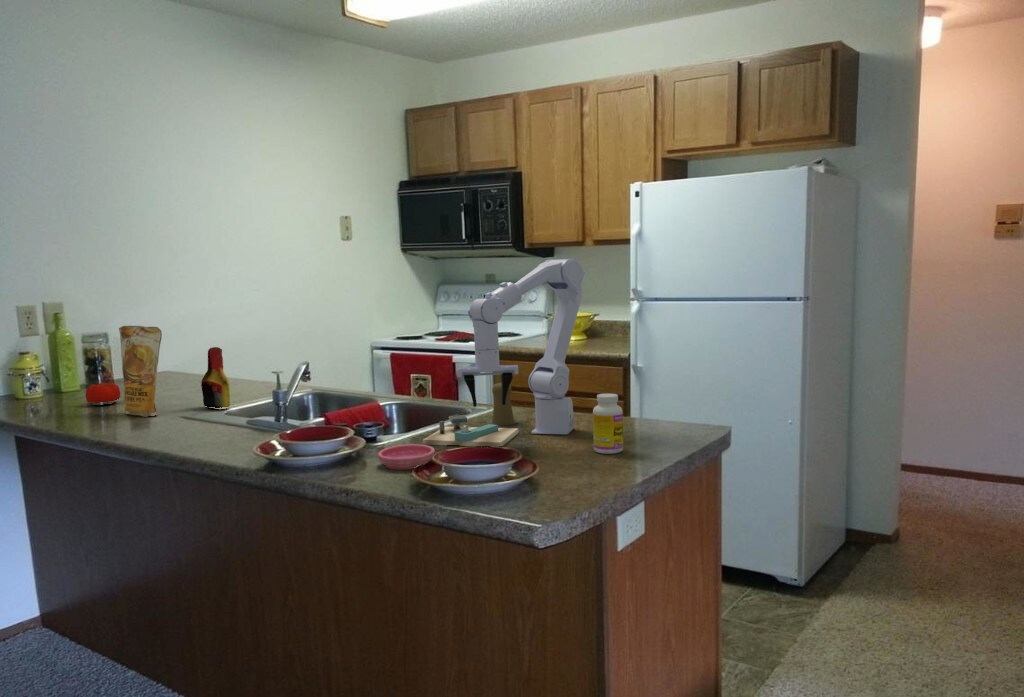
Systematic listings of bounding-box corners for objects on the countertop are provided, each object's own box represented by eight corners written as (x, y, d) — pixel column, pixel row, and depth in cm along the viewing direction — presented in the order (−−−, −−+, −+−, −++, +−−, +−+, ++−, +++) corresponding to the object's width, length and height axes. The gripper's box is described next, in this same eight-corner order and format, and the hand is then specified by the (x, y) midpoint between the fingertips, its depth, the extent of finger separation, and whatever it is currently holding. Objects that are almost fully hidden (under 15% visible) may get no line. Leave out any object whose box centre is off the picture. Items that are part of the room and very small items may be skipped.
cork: (511, 425, 203) (510, 384, 202) (489, 425, 204) (488, 385, 203) (516, 420, 209) (514, 381, 208) (494, 420, 210) (493, 381, 209)
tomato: (98, 408, 255) (95, 386, 254) (80, 406, 261) (78, 384, 260) (128, 403, 264) (126, 381, 263) (111, 400, 270) (109, 380, 269)
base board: (518, 433, 194) (518, 428, 194) (501, 447, 180) (500, 442, 180) (445, 430, 200) (445, 426, 200) (422, 444, 185) (422, 439, 185)
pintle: (469, 438, 185) (469, 425, 184) (467, 439, 183) (467, 426, 183) (464, 438, 185) (463, 425, 185) (462, 439, 184) (461, 426, 183)
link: (466, 441, 181) (466, 434, 181) (454, 439, 184) (454, 432, 184) (499, 430, 192) (499, 423, 192) (487, 429, 194) (487, 422, 194)
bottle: (237, 408, 244) (232, 346, 242) (219, 412, 239) (213, 349, 237) (217, 405, 252) (212, 345, 249) (199, 408, 247) (193, 347, 244)
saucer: (404, 475, 160) (403, 460, 159) (366, 466, 168) (366, 452, 167) (446, 462, 169) (446, 448, 169) (409, 454, 177) (408, 441, 177)
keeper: (468, 435, 193) (467, 418, 192) (440, 438, 191) (439, 420, 191) (464, 431, 198) (463, 414, 198) (437, 433, 197) (436, 416, 196)
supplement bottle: (615, 456, 168) (614, 398, 166) (588, 453, 171) (587, 396, 170) (628, 449, 173) (626, 393, 172) (601, 446, 177) (600, 391, 175)
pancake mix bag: (136, 410, 249) (128, 324, 245) (171, 414, 238) (163, 325, 235) (116, 414, 243) (108, 326, 240) (151, 418, 233) (142, 327, 229)
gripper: (515, 345, 186) (517, 400, 188) (455, 348, 185) (458, 403, 186) (518, 348, 179) (520, 405, 181) (456, 351, 178) (459, 409, 179)
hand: (489, 405), depth 183 cm, fingers open, 6 cm apart
